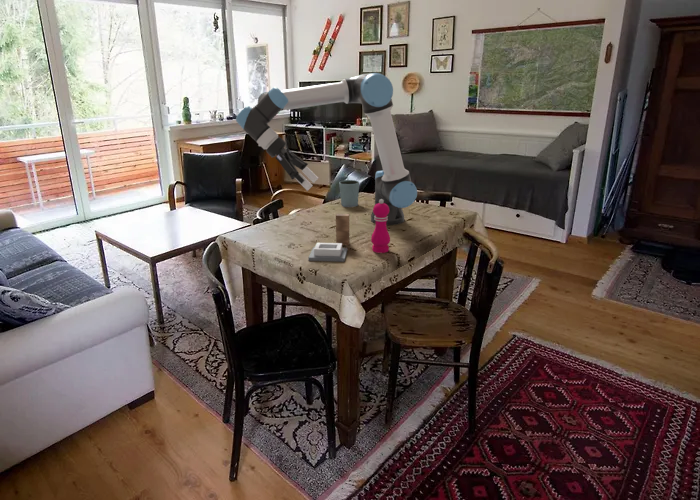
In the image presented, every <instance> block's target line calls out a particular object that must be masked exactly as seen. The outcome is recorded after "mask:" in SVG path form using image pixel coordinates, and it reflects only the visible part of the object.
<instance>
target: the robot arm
mask: <svg viewBox="0 0 700 500" xmlns="http://www.w3.org/2000/svg"><path fill="white" fill-rule="evenodd" d="M393 95H394V87H393V84H392V82H391V80H390V78H388V76H386V75H385V74H382V73H379V72H370V73H363V74H359V75H356V76H353V77H347V78H343V79H341V81H338V82H332V83H331V82H330V83H325V84H324V83H323V84H318V85H310V86H309V85H308V86H303V87H297V88H295V87H294V88H290V89H289V88H288V89H283V90H282V89H281V90H280V89H279V88H278V87H276V86H274V87H272V88H271V89H270V90H268V91H264V92H262V93H261V94H260V95H259V96H258V98H257V104H256V105H254V107H251V106H249V105H247V106H244V107H243V108H242V109H241V110H240V111H239V112H238V114H237V115H236V117H235V121H236V123H237V124H238V126H240V127H241V129H243V131H245V132H246V134H248V136H250V137H251V138H252V140H254V141H255V142H256V143H257V144H258V145H257V146H258V147H261V148H262V149H263V150H265V151H266V153H267V154H268V155H269V156H270V157H271V158H272V159H273V158H275V160H277V162H278V163H279V164H280V166H281V167H282V168H283V169H284V171H285V172H286V173H287V174H288V175H289V177H290V179H291V180H296V181H297V182H298V184H300V185H301V186H302V187H303V189H305V190H306V192H308V191H309V190H311V188H312V187H313V184H314V183H316V181H317V180H318V179H319V176H317V175H316V174H315V172H313V171H312V169H311V168H309V167H308V165H309V164H308V163H307V162H306V161H304V160H303V159H302V158H300V157H299V156H298V155H296V154H295V153H294V152H293V151H292V150H290V149H289V148H288V147H287V148H285V147H286V145H287V142H285V141H286V140H284V139H283V138H282V137H280V136H279V134H278V133H277V132H276V131H275V130H274V129H273V128H272V127H271V126H270V125H269V123H270V122H271V121H272V120H273V119H274V118H275V117H276V116H277V115H278V114H279V113H280V112H282V111H283V112H284V111H288V110H294V109H303V108H308V107H309V108H310V107H315V106H322V105H323V106H324V105H330V104H336V103H345V104H347V105H348V104H361V106H362V110H363V114H364V115H365V116H367V117H369V123H370V125H371V130H372V132H373V137H374V141H375V144H376V148H377V151H378V156H379V160H380V163H381V167H382V168H381V169H382V170H377V171H376V172H375V178H374V180H375V181H374V184H375V185H374V206H375V205H376V204H378V203H379V200H380V199H383V200H384V203H385V204H387V205H388V207H389V213H388V215H387V216H388V220H387V222H386V226H396V225H399V224H402V223H404V222H405V214H404V211H403V209H405V208H409V206H412V204H413V203H414V202H415V201H416V199H417V196H418V189H417V187H416V185H415V183H414V182H413V181H412V179H411V174H410V171H409V170H408V169H406V168H405V166H404V161H403V158H402V154H401V153H402V152H401V149H400V145H399V141H398V140H399V139H398V137H397V134H396V133H397V132H396V129H395V123H394V120H393V116H392V112H391V110H392V109H393V106H394V104H393ZM296 167H297V168H298V169H300V170H301V172H302V173H303V174H304V175H305V176H306V177H307V178H308V179H309V180H308V179H307V178H306V177H305V176H304V175H303V174H302V173H301V172H298V169H297V168H296ZM310 181H311V182H312V183H311V182H310ZM370 214H371V215H370V220H371V223H374V224H376V221H375V220H374V218H375V217H374V216H375V214H374V213H373V210H372V212H371V213H370Z"/></svg>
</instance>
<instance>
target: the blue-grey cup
mask: <svg viewBox="0 0 700 500" xmlns="http://www.w3.org/2000/svg"><path fill="white" fill-rule="evenodd" d="M338 185H339V192H340V202H341V203H340V204H341V206H342V207H344V208H355V207H358V206H359V195H360V194H359V193H360V192H359V189H360V181H359V180H355V179H354V180H353V179H345V180H341V181H339V183H338Z"/></svg>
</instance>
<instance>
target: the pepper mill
mask: <svg viewBox="0 0 700 500" xmlns="http://www.w3.org/2000/svg"><path fill="white" fill-rule="evenodd" d="M372 211H373V213H374V214H375V216H374V217H375V218H374V220H375V221H376V223H375V226H374V230H373V232H372V234H371V238H370V241H371V243H372V247H371V248H372V249H371V250H372V252H374V253H377V254H385V253H388V252H389V251H390V250H389V249H390V247H389V244H390V242H391V235H390V233H389V231H388V229H387V225H386V222H387V220H388V216H387V215H388V213H389V207H388V205H387V204H385V203H384V200H383V199H380V200H379V203H378V204H376V205H375V204H374V206H373V209H372Z"/></svg>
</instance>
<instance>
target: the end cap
mask: <svg viewBox="0 0 700 500" xmlns="http://www.w3.org/2000/svg"><path fill="white" fill-rule="evenodd" d="M347 253H348V247H343V245H342V243H336V242H316V244H315V246H313V247H312V249H311V251H310V254H309V256H308V261H309V262H310V261H313V262H343V263H344V262H346V261H345V260H346V257H347Z"/></svg>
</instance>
